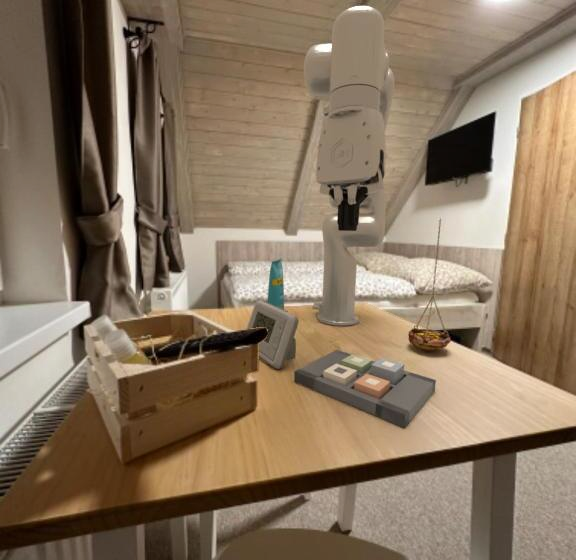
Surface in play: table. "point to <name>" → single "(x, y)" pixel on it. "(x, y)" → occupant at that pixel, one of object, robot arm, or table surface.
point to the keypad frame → (391, 407)
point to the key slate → (388, 370)
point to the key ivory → (340, 374)
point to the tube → (276, 284)
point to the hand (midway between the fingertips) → (347, 230)
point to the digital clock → (275, 333)
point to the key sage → (357, 363)
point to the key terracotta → (372, 386)
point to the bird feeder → (425, 336)
